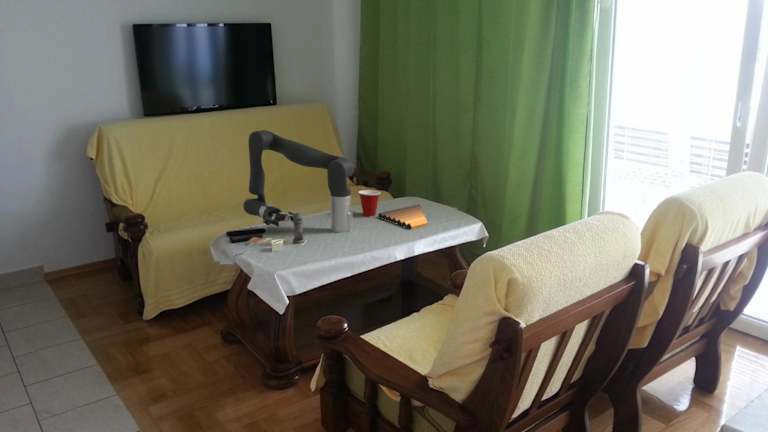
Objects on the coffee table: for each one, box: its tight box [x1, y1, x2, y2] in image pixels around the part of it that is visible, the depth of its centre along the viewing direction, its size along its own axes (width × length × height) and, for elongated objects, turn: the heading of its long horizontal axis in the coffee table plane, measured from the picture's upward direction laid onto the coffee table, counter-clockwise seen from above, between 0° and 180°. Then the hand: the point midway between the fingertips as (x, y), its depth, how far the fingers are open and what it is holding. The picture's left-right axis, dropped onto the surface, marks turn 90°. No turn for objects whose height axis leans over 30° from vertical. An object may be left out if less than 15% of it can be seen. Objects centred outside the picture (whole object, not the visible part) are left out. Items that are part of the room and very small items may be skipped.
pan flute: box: [377, 204, 429, 230], centre depth 296 cm, size 25×3×25 cm
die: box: [271, 238, 284, 252], centre depth 251 cm, size 4×4×5 cm
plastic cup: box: [358, 189, 381, 217], centre depth 300 cm, size 11×11×12 cm
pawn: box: [292, 212, 306, 245], centre depth 258 cm, size 5×5×13 cm
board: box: [245, 236, 308, 246], centre depth 261 cm, size 26×8×1 cm, turn 81°
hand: (287, 222), depth 265 cm, fingers open, 8 cm apart
